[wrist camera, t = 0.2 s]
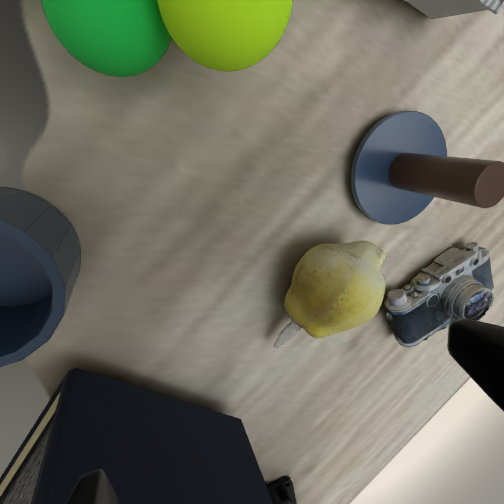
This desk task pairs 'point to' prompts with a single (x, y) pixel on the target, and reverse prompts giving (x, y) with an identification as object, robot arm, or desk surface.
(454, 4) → the grey ridged-top pillar
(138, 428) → the speaker
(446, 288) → the camera
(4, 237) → the pot
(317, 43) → the desk surface
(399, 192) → the lid
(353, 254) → the fruit
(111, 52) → the molecule model
